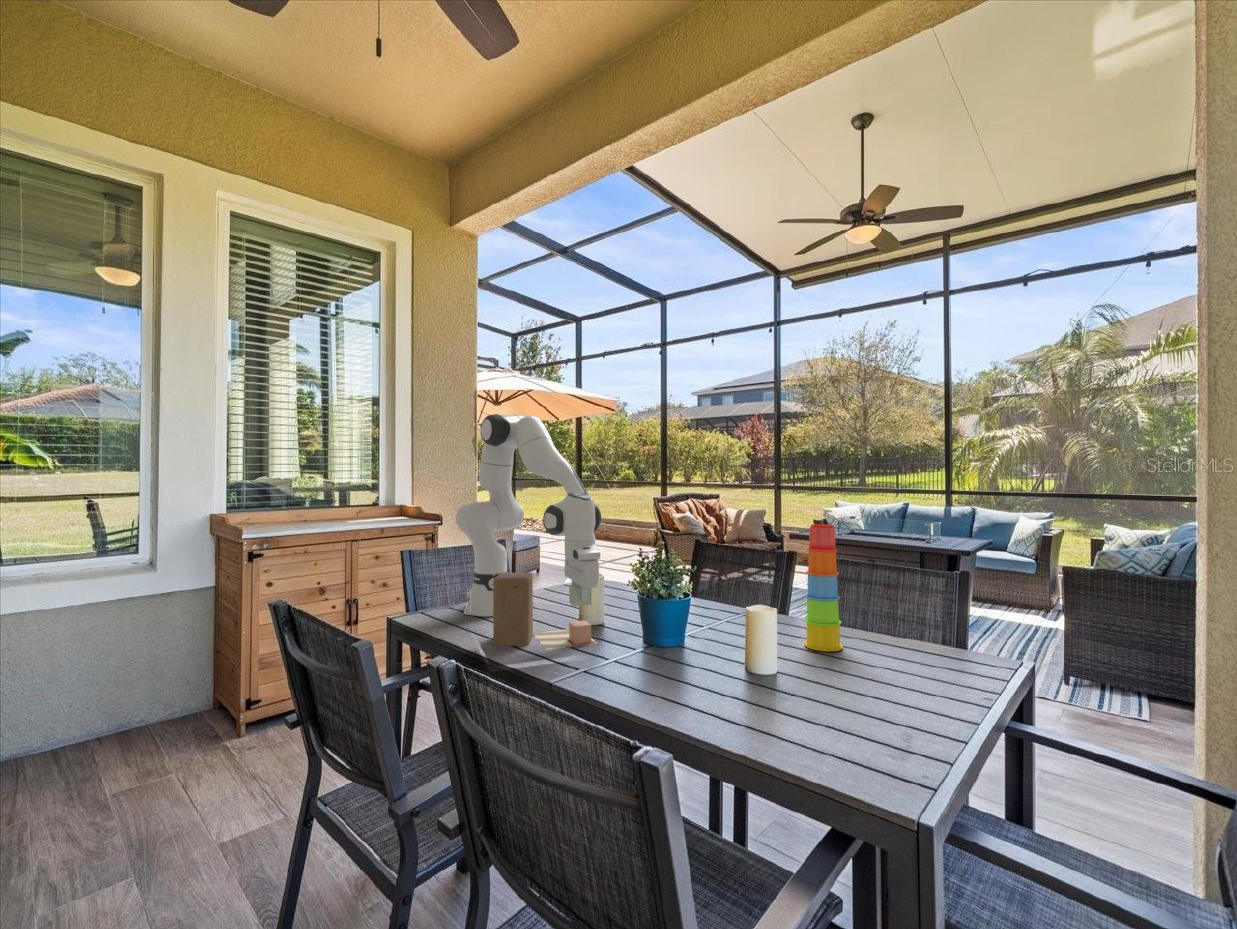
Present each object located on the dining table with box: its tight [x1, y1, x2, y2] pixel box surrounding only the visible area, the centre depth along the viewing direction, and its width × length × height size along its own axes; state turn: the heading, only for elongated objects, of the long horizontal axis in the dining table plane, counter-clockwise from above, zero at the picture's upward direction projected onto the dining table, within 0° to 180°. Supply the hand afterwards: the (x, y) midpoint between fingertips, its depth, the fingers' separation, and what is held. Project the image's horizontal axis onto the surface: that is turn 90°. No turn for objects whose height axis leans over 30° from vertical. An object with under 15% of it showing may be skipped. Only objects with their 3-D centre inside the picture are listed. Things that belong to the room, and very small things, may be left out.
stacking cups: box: [804, 523, 844, 653], centre depth 165 cm, size 10×10×35 cm
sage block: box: [568, 584, 593, 607], centre depth 167 cm, size 5×5×5 cm
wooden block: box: [492, 572, 534, 647], centre depth 168 cm, size 10×10×20 cm
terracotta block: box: [568, 619, 592, 644], centre depth 167 cm, size 5×5×5 cm
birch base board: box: [533, 628, 599, 651], centre depth 170 cm, size 17×15×1 cm
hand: (580, 598), depth 167 cm, fingers closed on sage block, 5 cm apart
